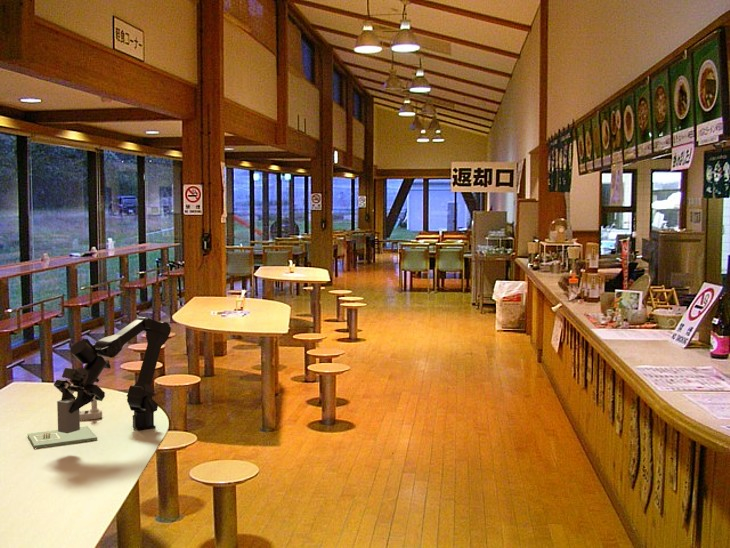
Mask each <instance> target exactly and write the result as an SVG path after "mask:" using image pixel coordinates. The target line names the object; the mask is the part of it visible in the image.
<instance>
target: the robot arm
mask: <svg viewBox="0 0 730 548" xmlns="http://www.w3.org/2000/svg"><path fill="white" fill-rule="evenodd" d="M143 331H144V332H145V338H146V342H147V345H146V348H145V352H144V355H143V358H142V359H143V360H142V363H141V367H140V370H139V374H138V378H137V381H136V383H134V385H130V386H129V387H128V392H127V394H126V398H127V399H126V401H127V402H126V403H128V404H127V405H128V407H129V408H130V411H133V415H132V427H133V429H136V430H137V431H143V430H150V429H155V428H156V425H155V419H154V418H155V415H154V414H155V412H156V411H158V407H159V405H158V404H157V402H156V401H155V400H154V399H153V397H154V392H153V388H152V382H153V379H154V375H155V372H156V367H157V363H158V360H159V356H160V352H161V349H162V346H164V344H165V343H166V342H167V341H168V339H169V336H170V334H171V333H172V332H171V331H172V327H171V326H170V324H169V323H168V322H167V321H159V320H154V319H152V318H149V317H147V316H138V317H136V318H135V319H134V320H133V321H132V322H130V323H129V324H128V325H126V326H124V327H123V328H122V329H120V330H119V331H117V332H116V333H115V334H113V335H109V336H105V337H103V338H101V339H99V340H97V341H96V342H95V343H94V344H92V343H91V342H90V340H89V339H88V338H87V337H86V338H85V337H82V338H81V340H79V341H77V342H76V343H74V344H73V345H72V346H71V347H70V350H69V351H70V354H71V355H72V356H73V357H75V359H76V360H77V361H78V362H80V364H83V365H84V366H83V367H78V368H77V369H75V368H70V367H64V369H63V373H62V376H61V378H63V379H61V378H58V379H56V381H55V382H54V383H53V386H54V387H55V388H56V389H57V390H58V391H59V392H60V393H62V394H61V399H60V400H64V399H68V398H72V399H75V401H74V403H73V405H72V406H71V408H70V410H69V412H70V413H73V412H75V411H76V410H78V409H79V410H80V409H81V408H83V407H84V406H86V405H88V404H91V402H93V401H94V400H93V398H94V396H95V399H96V401H97V402H98V401H99V402H103V400H104V398H105V397H106V392H105V391H104V390H103V389H102V388H101V387H100V386H99V385H97V384H95V383H99V381H100V379H99V377H100V375H101V374H102V372H103V370H104V369H109V370H110V369H111V364H110V360H109V359H108V360H107V359H105V358H110V359H112V358H115V357H116V356H117V355H119V354H120V353H121V351H122V350H123V346H125V345H126V344H127V343H129V342H130V341H132V339H134V338H135V337H136V336H138V335H140V334H141V333H143ZM64 378H65V379H64ZM66 379H67V380H66ZM74 393H76V394H77V396H75V395H74Z"/></svg>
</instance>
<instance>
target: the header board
mask: <svg viewBox="0 0 730 548" xmlns="http://www.w3.org/2000/svg"><path fill="white" fill-rule="evenodd" d="M27 439H28V440H29V442H30V441H31V442H30V443H31V445H32V446H34V447H33V448H34V449H35V448H36V449H42V448H43V449H44V448H50V446H51V447H57V446H65V445H71V444H78V443H79V442H80V443H86V442H85V441H87V442H92V441H91V440H94V441H98V436H97V435H96V434H95V433H94V431H92V429H91V428H90V427H89V426H88V425H87V426H86V425H85V426H80V430H78V431H74V432H71V433H62V432H58V429H56V430H55V429H54V430H47V431H40V432H31V433H27ZM80 443H79V444H80Z"/></svg>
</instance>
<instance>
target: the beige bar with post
mask: <svg viewBox="0 0 730 548" xmlns="http://www.w3.org/2000/svg"><path fill="white" fill-rule="evenodd" d="M93 400H94V401H93V402H90V404H91V409H90V410H79V414H80V421H88V420H90V421H91V420H98V419H101V418H102V417H103V411H102V409H99V408H98V400H96V399H95V396H94V398H93Z"/></svg>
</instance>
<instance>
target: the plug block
mask: <svg viewBox="0 0 730 548" xmlns="http://www.w3.org/2000/svg"><path fill="white" fill-rule="evenodd" d="M75 399H76V398H75ZM75 399H72V398H68V399H64V400H61V399H60V400H57V401H56V404H57V405H56V406H57V411H56V412H57V430H58V432H62V433H71V432H74V431H78V430H80V427H81V426H80V425H81V424H80V423H81V422H80V421H81V420H80V414H79V411H80V408H79V409H78V410H76V411H75V412H73V413H70V412H69V410H70V408H71V406H72V405H73V403H74V401H75Z"/></svg>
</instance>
